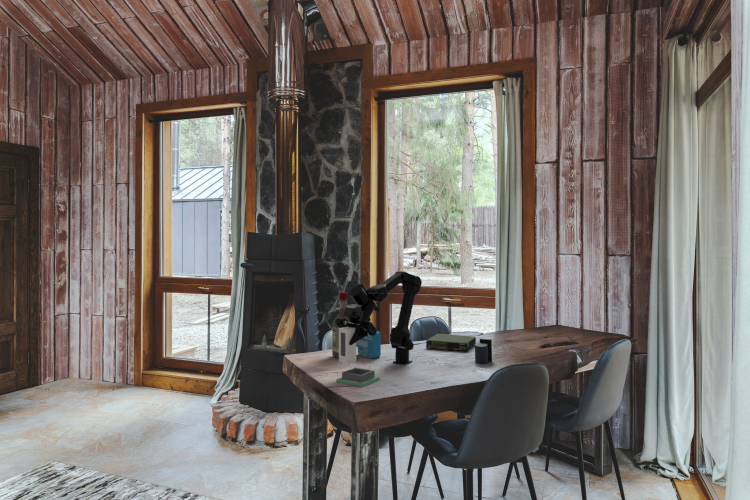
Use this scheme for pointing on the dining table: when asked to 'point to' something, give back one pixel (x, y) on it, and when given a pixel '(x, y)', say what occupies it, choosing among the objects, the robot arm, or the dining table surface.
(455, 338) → the network switch
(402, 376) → the dining table surface
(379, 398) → the dining table surface
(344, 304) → the liquor
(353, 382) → the green and grey tray
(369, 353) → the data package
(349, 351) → the white rectangular block
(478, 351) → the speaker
